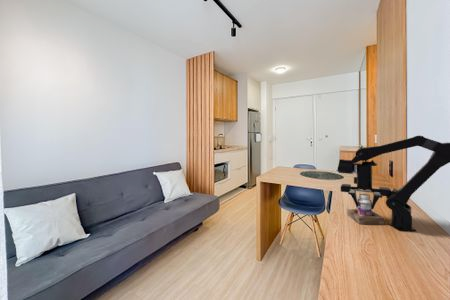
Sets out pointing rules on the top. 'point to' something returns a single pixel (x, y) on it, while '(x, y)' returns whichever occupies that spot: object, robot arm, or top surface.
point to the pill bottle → (364, 205)
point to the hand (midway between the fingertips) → (364, 207)
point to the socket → (365, 217)
